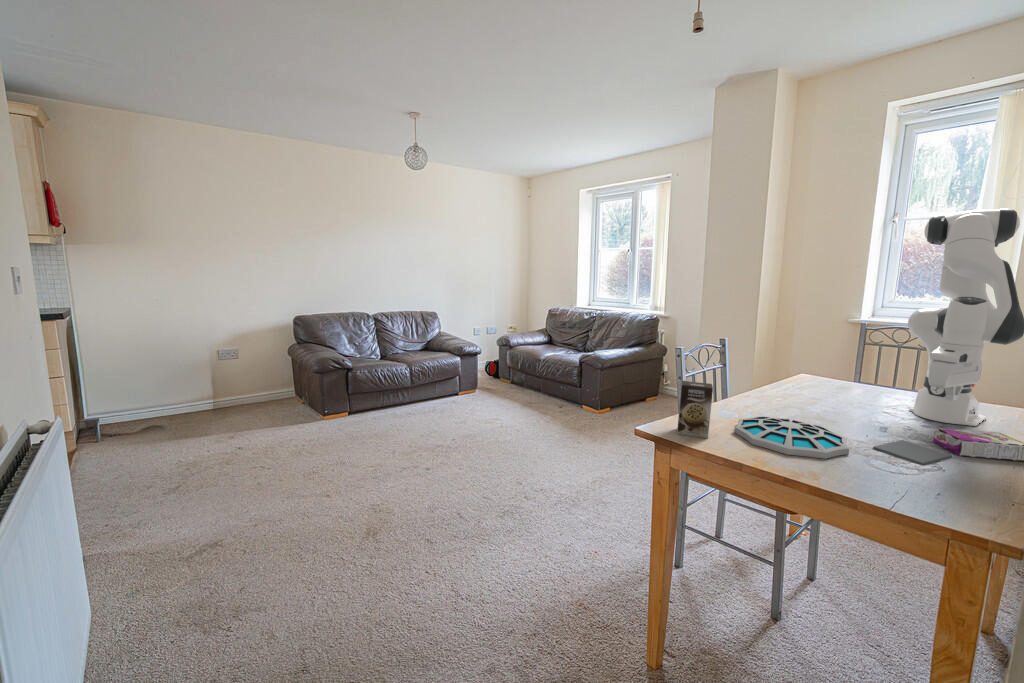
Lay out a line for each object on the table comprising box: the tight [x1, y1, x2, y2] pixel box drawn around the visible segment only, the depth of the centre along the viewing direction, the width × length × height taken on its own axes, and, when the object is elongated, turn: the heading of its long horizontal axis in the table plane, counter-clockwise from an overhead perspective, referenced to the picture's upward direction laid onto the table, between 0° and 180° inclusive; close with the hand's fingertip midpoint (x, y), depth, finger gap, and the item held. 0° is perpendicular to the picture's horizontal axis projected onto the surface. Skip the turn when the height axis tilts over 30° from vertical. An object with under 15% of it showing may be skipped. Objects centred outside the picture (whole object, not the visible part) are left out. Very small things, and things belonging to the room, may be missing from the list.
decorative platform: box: [734, 415, 850, 460], centre depth 139 cm, size 31×29×5 cm
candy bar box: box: [932, 427, 1024, 462], centre depth 130 cm, size 11×5×16 cm
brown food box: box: [676, 380, 714, 439], centre depth 141 cm, size 9×6×16 cm
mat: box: [872, 439, 953, 466], centre depth 129 cm, size 14×12×1 cm
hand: (951, 399), depth 132 cm, fingers closed
